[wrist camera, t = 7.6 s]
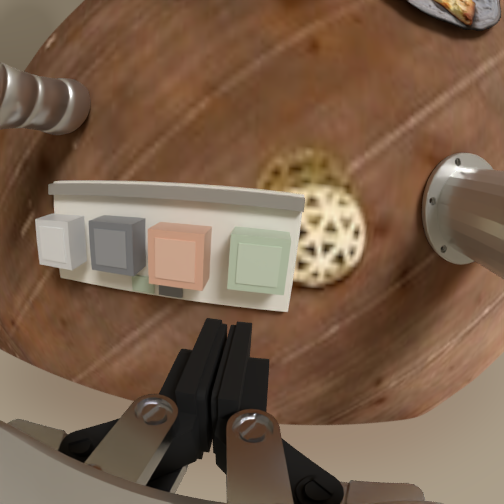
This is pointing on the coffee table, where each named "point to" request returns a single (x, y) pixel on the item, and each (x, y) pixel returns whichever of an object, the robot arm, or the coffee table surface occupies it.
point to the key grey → (61, 240)
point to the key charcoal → (117, 244)
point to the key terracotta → (179, 255)
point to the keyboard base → (184, 212)
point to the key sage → (258, 260)
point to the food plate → (462, 12)
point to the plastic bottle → (41, 102)
